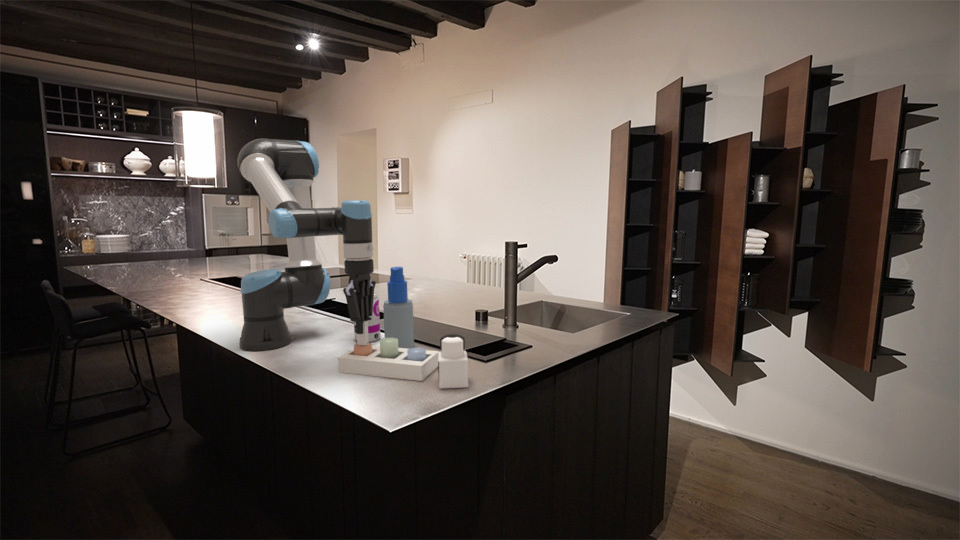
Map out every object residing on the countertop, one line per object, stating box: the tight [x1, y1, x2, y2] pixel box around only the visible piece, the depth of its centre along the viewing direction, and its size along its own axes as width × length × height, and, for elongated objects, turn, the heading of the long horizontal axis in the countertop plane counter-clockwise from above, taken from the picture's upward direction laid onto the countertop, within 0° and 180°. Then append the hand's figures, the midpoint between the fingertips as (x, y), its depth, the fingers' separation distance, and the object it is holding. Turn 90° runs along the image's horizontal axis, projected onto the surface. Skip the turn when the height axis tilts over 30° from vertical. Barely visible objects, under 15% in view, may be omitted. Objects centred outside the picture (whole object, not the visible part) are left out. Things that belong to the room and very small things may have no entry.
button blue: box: [407, 347, 427, 362], centre depth 128 cm, size 5×5×5 cm
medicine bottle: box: [437, 333, 469, 390], centre depth 119 cm, size 7×7×12 cm
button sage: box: [379, 337, 399, 359], centre depth 130 cm, size 5×5×5 cm
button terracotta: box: [353, 342, 373, 356], centre depth 132 cm, size 5×5×5 cm
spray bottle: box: [383, 266, 415, 349], centre depth 147 cm, size 9×9×25 cm
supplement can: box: [353, 292, 381, 343], centre depth 157 cm, size 8×8×15 cm
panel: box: [337, 344, 440, 382], centre depth 130 cm, size 24×12×4 cm, turn 73°
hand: (362, 344), depth 132 cm, fingers closed
